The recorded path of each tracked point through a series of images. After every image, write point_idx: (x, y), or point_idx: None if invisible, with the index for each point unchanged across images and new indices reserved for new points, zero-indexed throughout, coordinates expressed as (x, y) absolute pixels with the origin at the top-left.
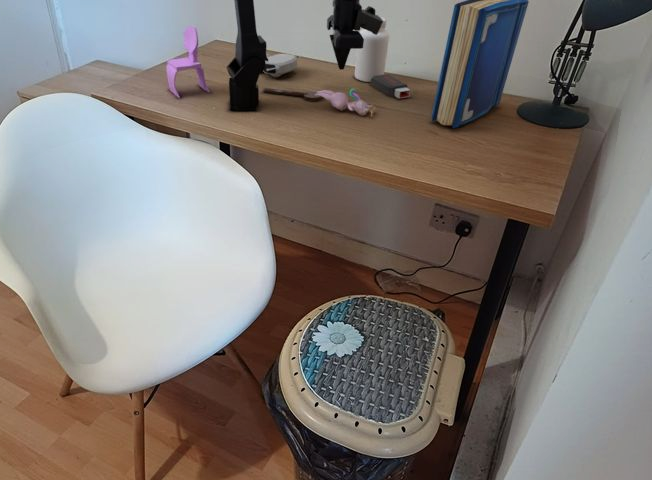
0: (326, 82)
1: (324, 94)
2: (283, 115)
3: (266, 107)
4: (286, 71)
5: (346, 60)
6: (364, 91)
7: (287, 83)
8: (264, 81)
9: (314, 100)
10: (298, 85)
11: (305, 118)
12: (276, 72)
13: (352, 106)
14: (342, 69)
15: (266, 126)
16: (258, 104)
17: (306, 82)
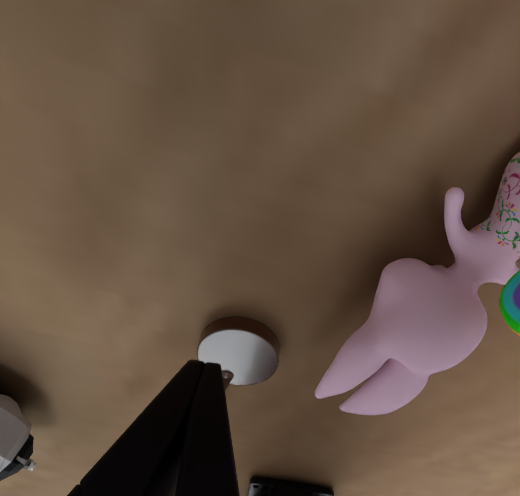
0: (13, 244)
1: (403, 403)
2: (390, 448)
3: (307, 465)
4: (3, 409)
5: (230, 450)
6: (130, 42)
7: (70, 382)
8: (65, 430)
9: (278, 351)
10: (85, 357)
11: (448, 408)
12: (27, 435)
13: (515, 261)
14: (220, 368)
15: (458, 490)
16: (310, 494)
17: (40, 324)
